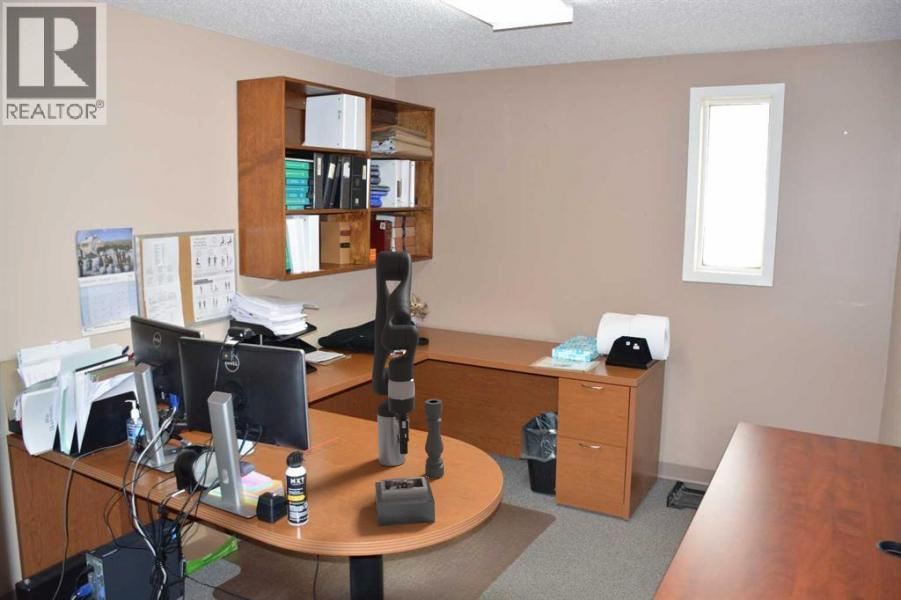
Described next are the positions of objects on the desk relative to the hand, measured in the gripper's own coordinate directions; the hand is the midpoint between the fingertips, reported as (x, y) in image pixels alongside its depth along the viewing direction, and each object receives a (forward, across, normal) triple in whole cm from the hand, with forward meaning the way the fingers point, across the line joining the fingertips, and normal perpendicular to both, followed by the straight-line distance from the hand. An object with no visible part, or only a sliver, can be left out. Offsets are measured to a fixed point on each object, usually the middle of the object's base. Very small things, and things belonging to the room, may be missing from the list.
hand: (402, 448), depth 204 cm
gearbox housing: (+19, 0, 0) cm, 19 cm away
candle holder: (+20, -24, +12) cm, 33 cm away
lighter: (+20, +1, 0) cm, 20 cm away
